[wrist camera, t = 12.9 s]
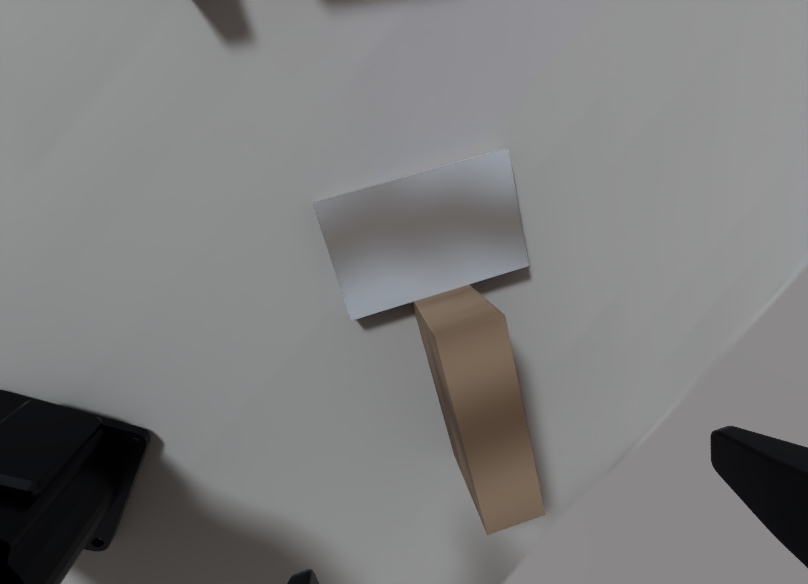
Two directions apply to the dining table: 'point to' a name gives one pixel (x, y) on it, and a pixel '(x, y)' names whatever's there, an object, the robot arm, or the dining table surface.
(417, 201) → the turner
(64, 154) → the dining table surface
